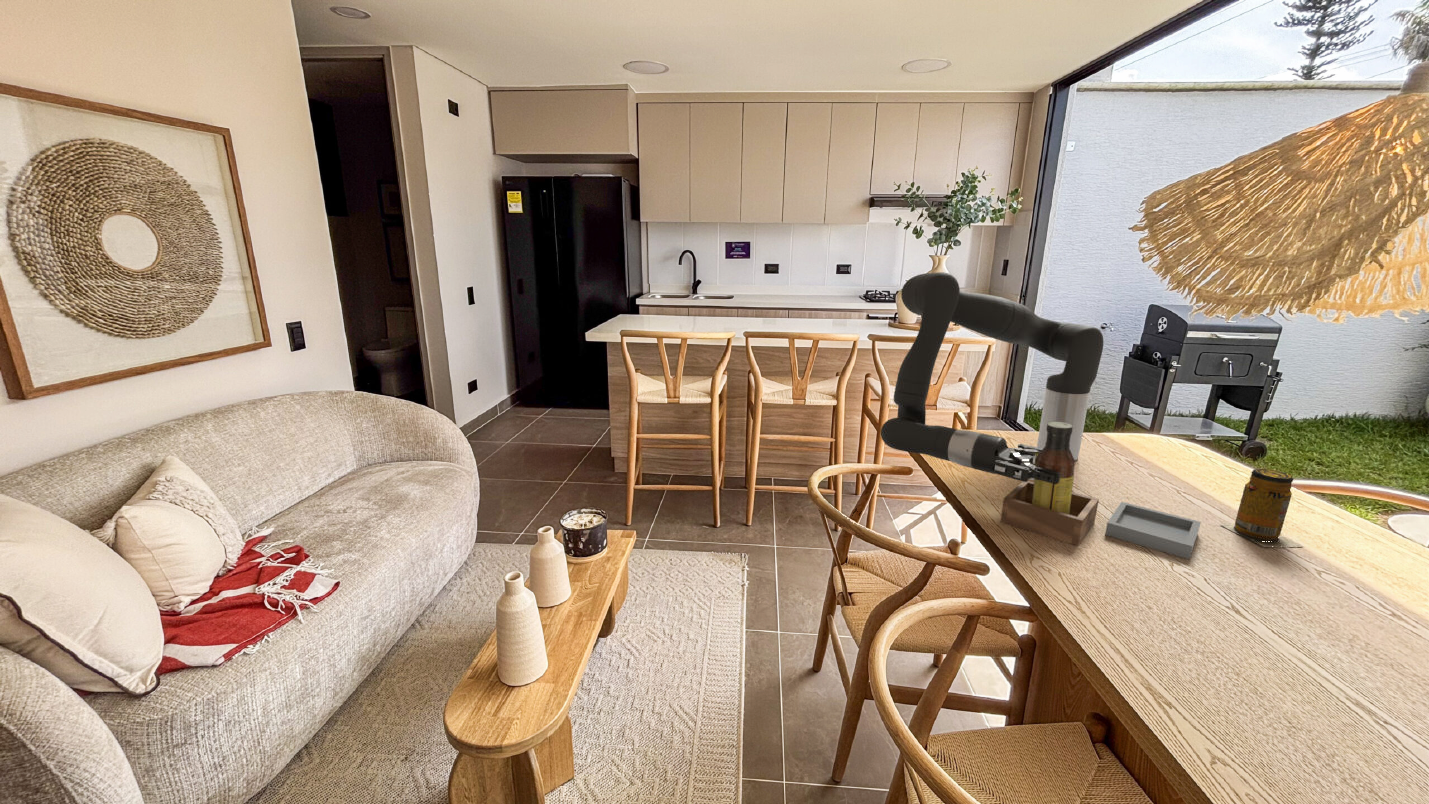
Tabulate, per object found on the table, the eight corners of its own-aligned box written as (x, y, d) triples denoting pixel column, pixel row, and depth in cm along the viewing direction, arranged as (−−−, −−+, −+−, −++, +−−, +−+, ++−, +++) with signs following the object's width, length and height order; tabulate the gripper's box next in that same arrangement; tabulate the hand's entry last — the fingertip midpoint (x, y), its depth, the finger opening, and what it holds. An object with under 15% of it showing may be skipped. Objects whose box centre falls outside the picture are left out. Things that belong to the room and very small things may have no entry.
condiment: (1256, 524, 104) (1272, 465, 101) (1303, 547, 96) (1323, 484, 93) (1218, 525, 104) (1234, 466, 101) (1263, 548, 96) (1281, 485, 93)
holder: (1021, 501, 115) (1024, 479, 113) (1094, 522, 106) (1098, 499, 104) (1000, 521, 107) (1003, 498, 105) (1077, 546, 98) (1082, 520, 96)
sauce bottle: (1067, 520, 107) (1084, 423, 101) (1066, 533, 102) (1084, 432, 96) (1029, 511, 110) (1044, 417, 105) (1026, 524, 105) (1041, 426, 100)
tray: (1119, 513, 109) (1121, 501, 109) (1197, 534, 101) (1200, 521, 100) (1105, 534, 101) (1107, 522, 101) (1189, 559, 93) (1192, 546, 92)
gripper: (964, 442, 107) (1058, 463, 96) (991, 425, 117) (1080, 443, 106) (960, 477, 109) (1051, 502, 98) (987, 458, 119) (1073, 479, 108)
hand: (1066, 471), depth 102 cm, fingers open, 8 cm apart
